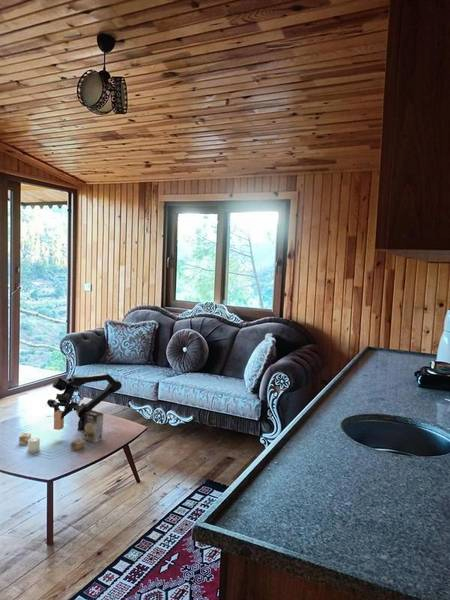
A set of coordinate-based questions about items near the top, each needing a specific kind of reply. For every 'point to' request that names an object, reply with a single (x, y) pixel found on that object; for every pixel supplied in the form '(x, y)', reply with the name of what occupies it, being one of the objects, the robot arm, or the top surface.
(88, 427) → the coffee box
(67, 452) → the top surface
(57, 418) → the terracotta brick
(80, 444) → the walnut block
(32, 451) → the cream jar
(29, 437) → the oak block
